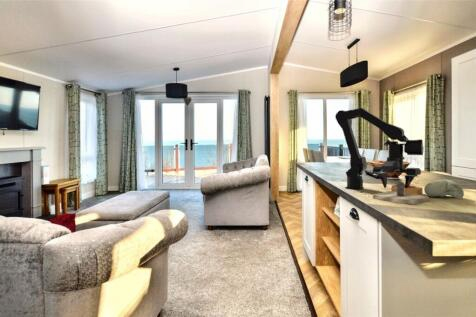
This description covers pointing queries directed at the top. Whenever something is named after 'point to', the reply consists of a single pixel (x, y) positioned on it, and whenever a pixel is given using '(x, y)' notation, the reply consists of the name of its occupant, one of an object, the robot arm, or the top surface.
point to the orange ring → (409, 189)
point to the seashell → (444, 189)
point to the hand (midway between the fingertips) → (395, 189)
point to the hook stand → (401, 196)
